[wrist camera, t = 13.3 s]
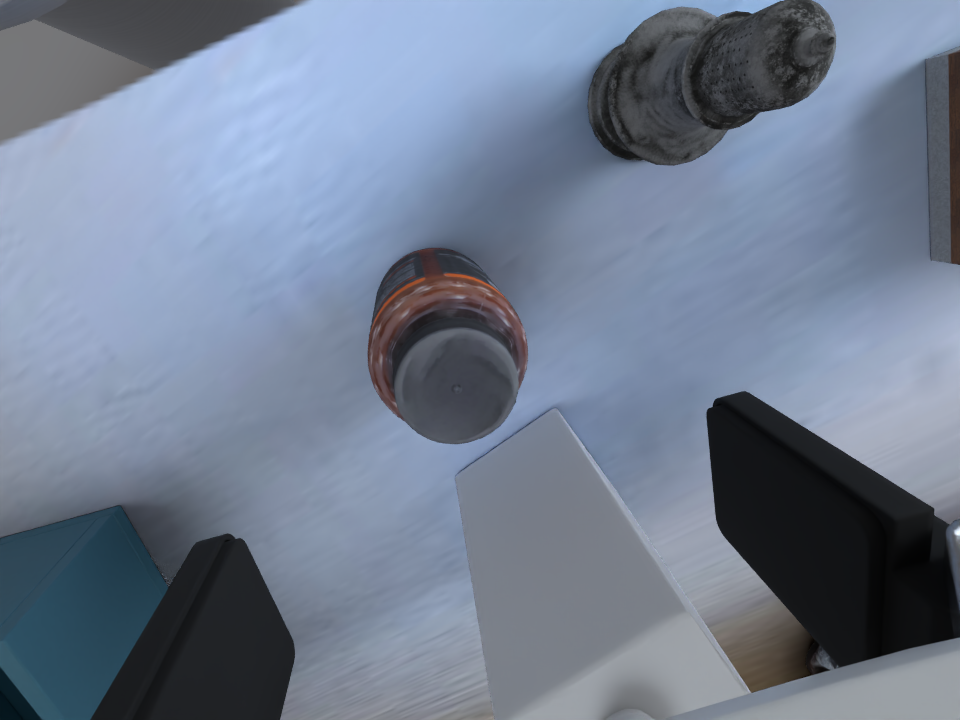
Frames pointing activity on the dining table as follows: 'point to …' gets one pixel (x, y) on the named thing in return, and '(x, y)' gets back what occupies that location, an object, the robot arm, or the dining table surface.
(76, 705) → the case
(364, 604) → the dining table surface
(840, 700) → the robot arm
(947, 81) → the display case
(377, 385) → the supplement bottle
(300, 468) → the dining table surface
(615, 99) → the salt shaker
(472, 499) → the milk carton
